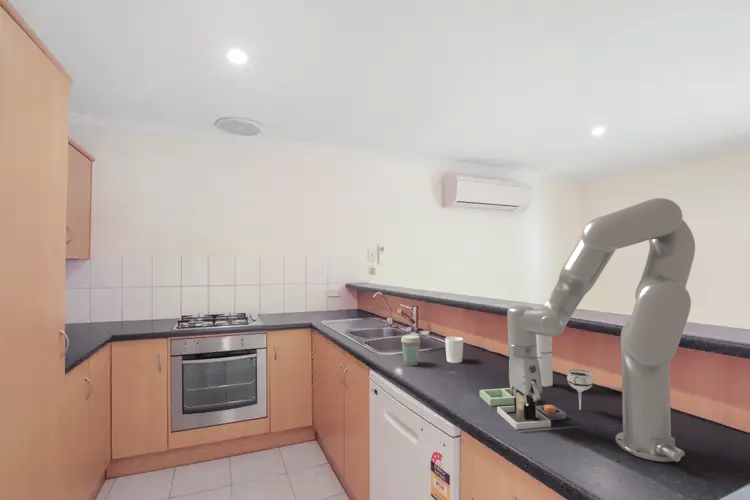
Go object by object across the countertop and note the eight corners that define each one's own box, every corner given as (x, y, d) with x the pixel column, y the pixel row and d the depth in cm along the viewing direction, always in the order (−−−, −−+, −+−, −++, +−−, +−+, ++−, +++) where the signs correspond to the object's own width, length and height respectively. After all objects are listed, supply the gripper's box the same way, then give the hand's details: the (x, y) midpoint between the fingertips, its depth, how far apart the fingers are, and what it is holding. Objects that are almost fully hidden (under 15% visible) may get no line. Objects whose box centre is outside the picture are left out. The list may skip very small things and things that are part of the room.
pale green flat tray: (535, 405, 117) (535, 396, 117) (490, 409, 115) (490, 399, 115) (522, 396, 125) (522, 387, 125) (479, 399, 123) (479, 390, 123)
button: (558, 417, 107) (558, 408, 107) (548, 418, 107) (548, 409, 107) (551, 413, 110) (551, 404, 110) (541, 413, 110) (541, 404, 110)
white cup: (441, 359, 169) (441, 337, 169) (456, 357, 172) (455, 335, 172) (452, 364, 162) (452, 341, 162) (467, 362, 165) (466, 339, 165)
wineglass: (594, 411, 113) (593, 371, 113) (592, 419, 107) (591, 377, 107) (568, 406, 117) (568, 367, 117) (566, 414, 111) (565, 373, 111)
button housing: (566, 422, 106) (566, 413, 106) (546, 423, 105) (546, 415, 105) (553, 413, 112) (553, 405, 112) (534, 414, 111) (534, 406, 111)
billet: (536, 422, 104) (535, 396, 104) (522, 423, 103) (521, 397, 103) (528, 415, 108) (527, 391, 108) (513, 416, 108) (513, 392, 108)
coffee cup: (418, 367, 158) (418, 339, 158) (399, 366, 160) (398, 338, 160) (422, 362, 166) (422, 334, 166) (403, 360, 168) (403, 333, 168)
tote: (550, 430, 101) (550, 420, 101) (516, 432, 100) (516, 423, 100) (528, 412, 112) (528, 404, 112) (497, 415, 111) (497, 406, 111)
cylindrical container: (555, 389, 131) (553, 318, 131) (533, 388, 132) (532, 317, 132) (549, 382, 138) (548, 314, 138) (529, 381, 139) (528, 314, 139)
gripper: (553, 357, 98) (555, 427, 98) (519, 342, 115) (521, 402, 115) (526, 359, 97) (528, 430, 97) (496, 344, 114) (498, 404, 114)
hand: (525, 414), depth 106 cm, fingers closed on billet, 4 cm apart
